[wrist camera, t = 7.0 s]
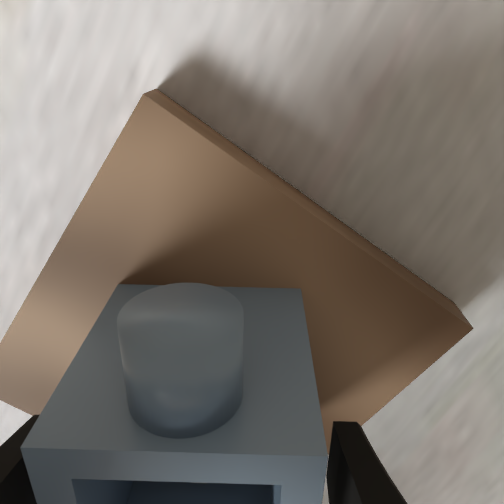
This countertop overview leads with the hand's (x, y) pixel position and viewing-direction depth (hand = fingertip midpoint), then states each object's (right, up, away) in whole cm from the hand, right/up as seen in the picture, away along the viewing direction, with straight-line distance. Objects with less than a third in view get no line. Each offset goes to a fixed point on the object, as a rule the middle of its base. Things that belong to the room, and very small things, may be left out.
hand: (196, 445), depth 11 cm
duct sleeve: (0, +2, +3) cm, 3 cm away
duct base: (0, +2, +4) cm, 5 cm away
